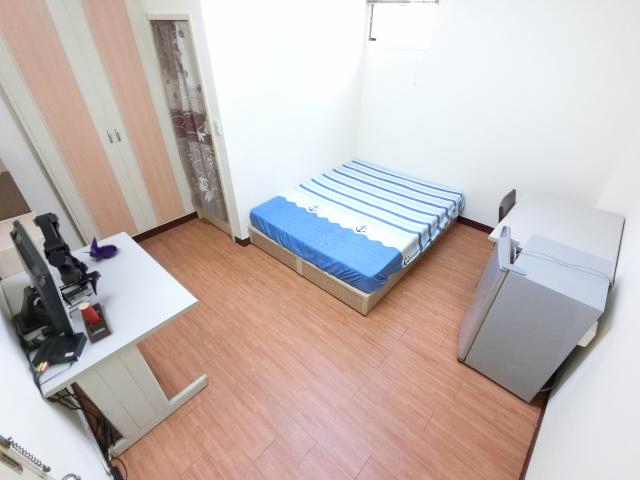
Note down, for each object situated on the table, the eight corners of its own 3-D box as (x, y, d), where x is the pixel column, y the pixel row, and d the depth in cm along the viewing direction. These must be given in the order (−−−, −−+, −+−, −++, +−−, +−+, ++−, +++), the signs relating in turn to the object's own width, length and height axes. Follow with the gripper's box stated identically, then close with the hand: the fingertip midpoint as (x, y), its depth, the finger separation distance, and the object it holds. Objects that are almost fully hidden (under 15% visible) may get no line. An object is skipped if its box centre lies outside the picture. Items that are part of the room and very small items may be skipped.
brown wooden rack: (83, 314, 132) (80, 310, 130) (101, 306, 136) (99, 302, 134) (92, 343, 121) (89, 339, 119) (111, 333, 125) (108, 329, 123)
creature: (85, 257, 162) (74, 240, 155) (122, 246, 170) (113, 230, 162) (85, 266, 157) (74, 249, 149) (123, 255, 164) (114, 238, 157)
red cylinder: (90, 325, 128) (76, 307, 120) (98, 319, 130) (85, 301, 123) (96, 328, 127) (82, 310, 119) (104, 321, 129) (91, 304, 121)
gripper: (33, 277, 115) (52, 311, 115) (88, 256, 125) (105, 288, 125) (42, 279, 124) (60, 311, 125) (93, 260, 134) (109, 290, 135)
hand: (84, 300), depth 127 cm, fingers open, 9 cm apart
